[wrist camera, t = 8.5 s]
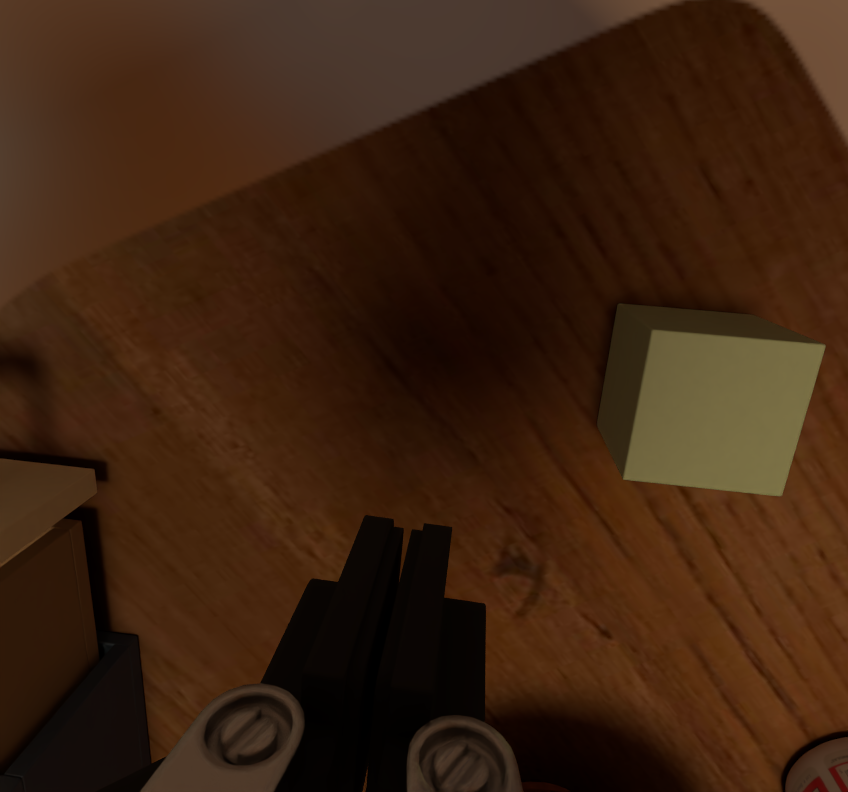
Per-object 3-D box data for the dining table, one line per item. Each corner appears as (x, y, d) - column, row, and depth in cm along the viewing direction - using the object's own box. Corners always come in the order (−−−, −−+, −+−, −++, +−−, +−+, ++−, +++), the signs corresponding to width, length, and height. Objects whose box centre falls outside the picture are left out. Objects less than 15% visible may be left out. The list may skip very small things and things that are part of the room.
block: (617, 302, 22) (651, 329, 18) (754, 314, 22) (827, 344, 17) (596, 425, 24) (622, 480, 19) (723, 438, 23) (782, 497, 19)
